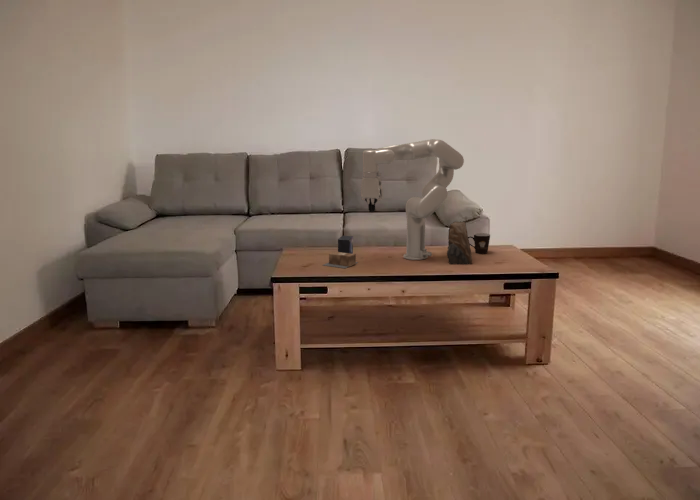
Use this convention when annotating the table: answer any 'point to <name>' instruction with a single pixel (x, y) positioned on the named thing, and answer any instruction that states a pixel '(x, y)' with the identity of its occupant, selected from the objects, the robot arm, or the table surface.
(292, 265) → the table surface
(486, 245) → the coffee mug
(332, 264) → the mat
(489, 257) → the table surface
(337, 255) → the walnut block
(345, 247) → the small box
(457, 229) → the brown grey rock
